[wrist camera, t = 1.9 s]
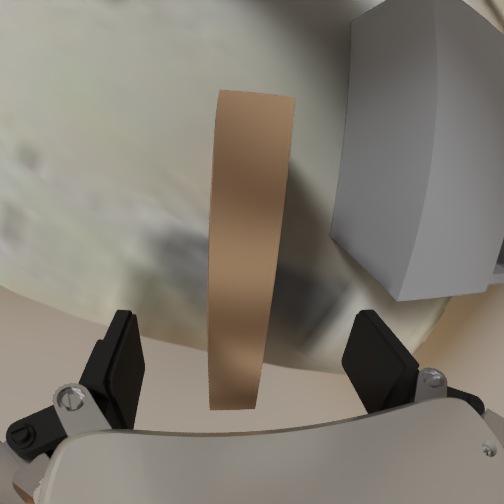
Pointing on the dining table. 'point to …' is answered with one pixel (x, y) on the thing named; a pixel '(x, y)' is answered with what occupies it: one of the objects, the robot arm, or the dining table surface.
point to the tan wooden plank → (244, 238)
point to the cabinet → (424, 150)
